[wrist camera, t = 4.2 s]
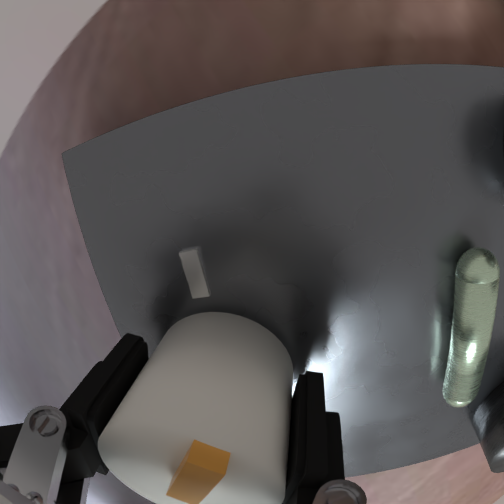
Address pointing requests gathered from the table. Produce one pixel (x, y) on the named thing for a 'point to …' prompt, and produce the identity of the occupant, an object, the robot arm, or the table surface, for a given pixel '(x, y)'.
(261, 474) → the oval dial with ridge
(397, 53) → the table surface
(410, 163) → the base
